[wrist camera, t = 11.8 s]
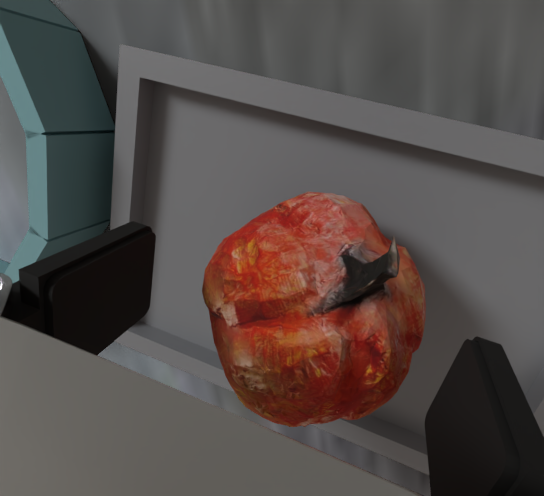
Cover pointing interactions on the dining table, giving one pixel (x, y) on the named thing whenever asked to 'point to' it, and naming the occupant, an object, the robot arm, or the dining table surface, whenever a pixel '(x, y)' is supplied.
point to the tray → (341, 181)
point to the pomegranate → (314, 311)
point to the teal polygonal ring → (56, 129)
